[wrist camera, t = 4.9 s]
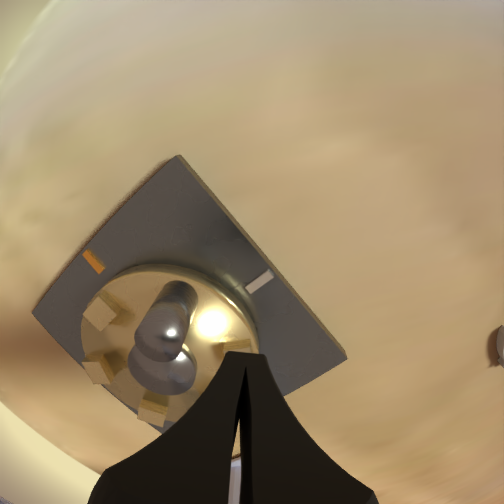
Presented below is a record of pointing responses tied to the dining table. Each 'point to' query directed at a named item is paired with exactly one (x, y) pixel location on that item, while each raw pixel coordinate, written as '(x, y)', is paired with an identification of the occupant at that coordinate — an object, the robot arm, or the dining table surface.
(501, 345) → the adjustable wrench
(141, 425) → the dining table surface
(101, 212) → the dining table surface
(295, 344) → the base plate
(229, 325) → the rotary dial knob
